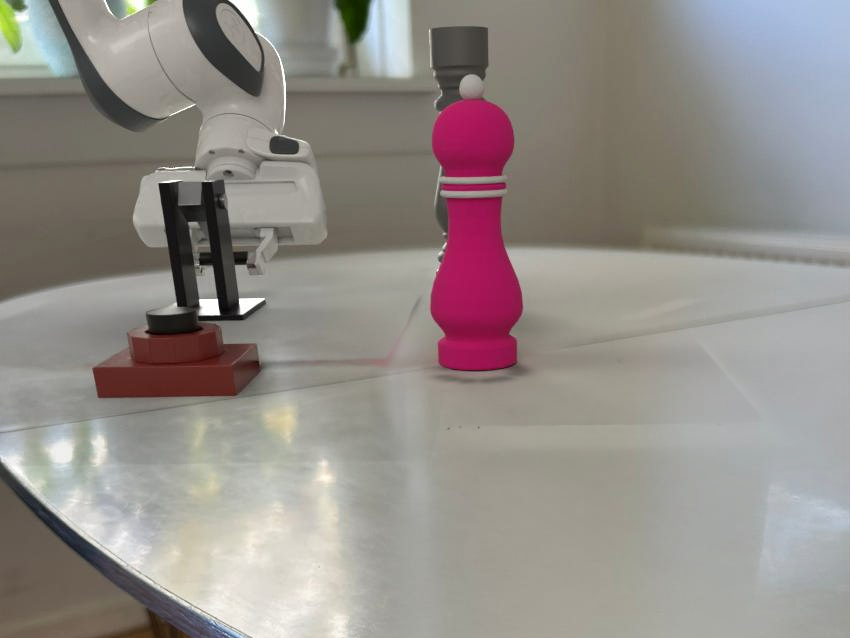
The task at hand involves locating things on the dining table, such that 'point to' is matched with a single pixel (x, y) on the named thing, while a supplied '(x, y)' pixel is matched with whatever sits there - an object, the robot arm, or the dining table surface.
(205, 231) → the tap lever
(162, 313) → the black push button
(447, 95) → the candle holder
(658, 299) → the dining table surface
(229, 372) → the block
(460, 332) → the pepper mill
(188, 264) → the bracket
